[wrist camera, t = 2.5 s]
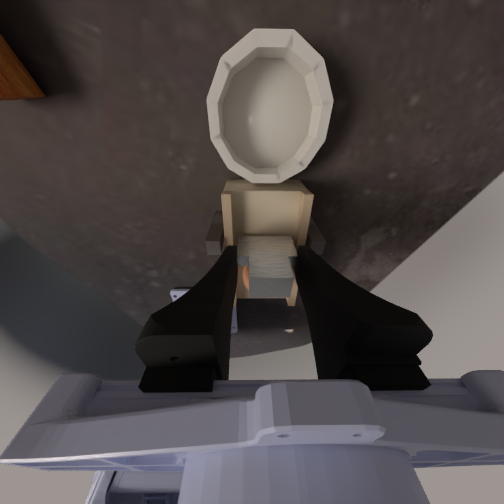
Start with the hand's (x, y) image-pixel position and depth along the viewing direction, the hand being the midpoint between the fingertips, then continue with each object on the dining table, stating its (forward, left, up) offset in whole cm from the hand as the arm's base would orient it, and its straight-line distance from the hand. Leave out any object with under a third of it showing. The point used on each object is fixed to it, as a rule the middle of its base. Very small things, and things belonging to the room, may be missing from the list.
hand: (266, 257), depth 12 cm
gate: (0, 0, -2) cm, 2 cm away
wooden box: (-2, 0, -6) cm, 6 cm away
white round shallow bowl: (+8, 0, -6) cm, 10 cm away
